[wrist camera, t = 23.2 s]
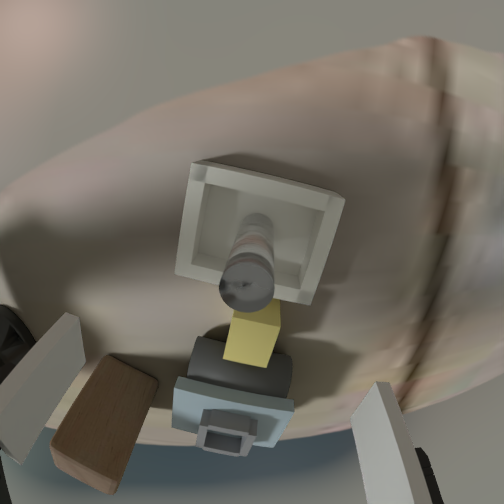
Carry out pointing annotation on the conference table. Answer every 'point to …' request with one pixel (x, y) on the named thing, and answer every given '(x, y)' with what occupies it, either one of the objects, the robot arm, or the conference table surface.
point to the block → (104, 425)
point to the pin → (250, 266)
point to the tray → (264, 202)
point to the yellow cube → (253, 335)
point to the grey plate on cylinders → (232, 400)
